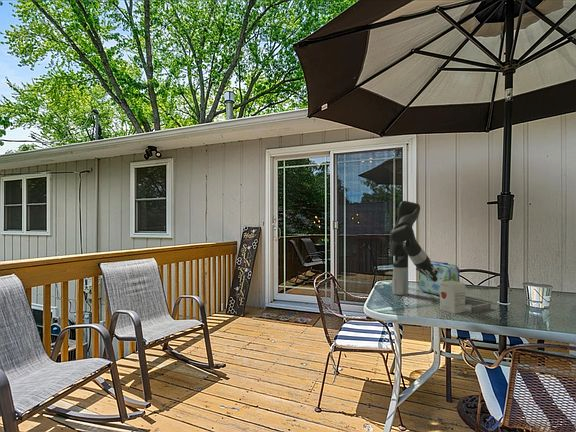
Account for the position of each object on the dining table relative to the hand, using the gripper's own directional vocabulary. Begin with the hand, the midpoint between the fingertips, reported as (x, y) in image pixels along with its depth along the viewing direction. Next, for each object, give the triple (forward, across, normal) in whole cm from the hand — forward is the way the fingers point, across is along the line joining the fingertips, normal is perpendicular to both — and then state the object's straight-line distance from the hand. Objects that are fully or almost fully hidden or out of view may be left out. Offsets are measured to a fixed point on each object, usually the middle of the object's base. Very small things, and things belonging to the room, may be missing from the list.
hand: (435, 280), depth 174 cm
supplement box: (+22, 0, +3) cm, 22 cm away
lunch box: (+42, +29, -18) cm, 54 cm away
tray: (+31, 0, -7) cm, 32 cm away
